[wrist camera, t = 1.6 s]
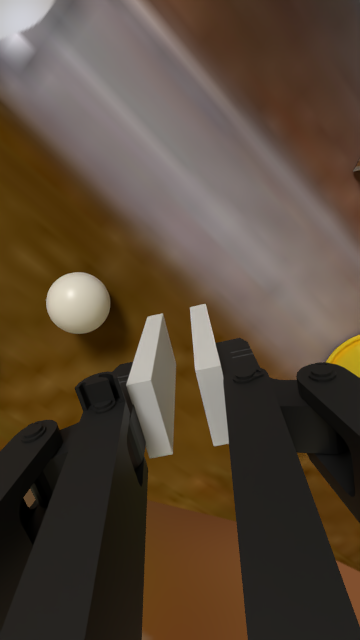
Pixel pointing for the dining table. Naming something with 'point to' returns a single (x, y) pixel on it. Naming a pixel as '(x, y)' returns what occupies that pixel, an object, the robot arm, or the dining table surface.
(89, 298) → the cue ball
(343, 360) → the stacking cups
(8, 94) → the dining table surface
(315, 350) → the dining table surface
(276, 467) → the robot arm
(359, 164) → the pancake mix bag
